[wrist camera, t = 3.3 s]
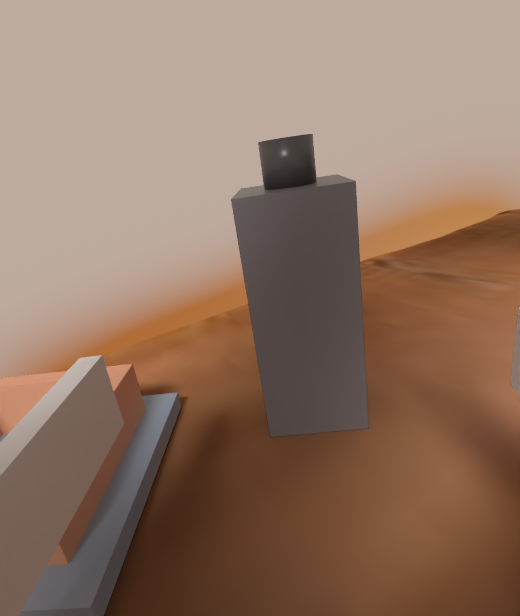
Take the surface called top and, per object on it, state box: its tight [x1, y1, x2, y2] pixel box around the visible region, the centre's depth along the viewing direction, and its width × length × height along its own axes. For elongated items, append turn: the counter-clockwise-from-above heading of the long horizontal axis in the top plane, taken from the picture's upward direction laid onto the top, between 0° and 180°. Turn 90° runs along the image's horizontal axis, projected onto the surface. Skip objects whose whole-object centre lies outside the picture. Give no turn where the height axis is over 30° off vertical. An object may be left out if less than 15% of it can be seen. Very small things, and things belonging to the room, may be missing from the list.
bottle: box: [231, 134, 369, 437], centre depth 20 cm, size 5×5×14 cm
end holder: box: [0, 364, 181, 616], centre depth 18 cm, size 12×12×4 cm
